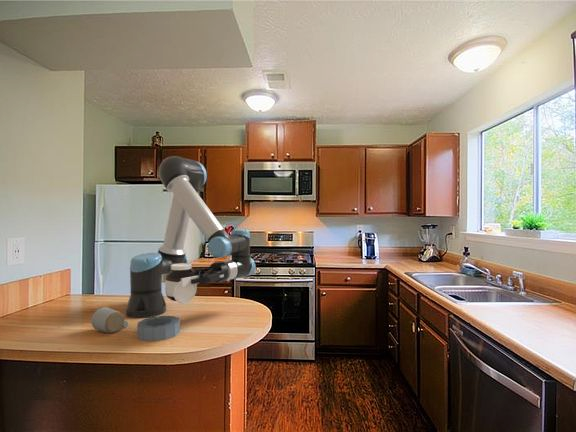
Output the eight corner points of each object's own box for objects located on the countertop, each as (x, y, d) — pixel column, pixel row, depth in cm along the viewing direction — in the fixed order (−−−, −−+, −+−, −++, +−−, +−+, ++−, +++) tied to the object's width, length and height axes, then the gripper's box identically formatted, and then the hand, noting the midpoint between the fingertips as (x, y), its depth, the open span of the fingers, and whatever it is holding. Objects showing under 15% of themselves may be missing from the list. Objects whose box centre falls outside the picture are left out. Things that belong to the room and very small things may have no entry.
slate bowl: (130, 334, 110) (130, 322, 110) (165, 324, 120) (165, 313, 120) (151, 344, 102) (151, 331, 102) (187, 332, 112) (187, 320, 112)
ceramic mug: (105, 336, 109) (106, 313, 109) (90, 332, 112) (90, 309, 112) (134, 327, 118) (134, 305, 118) (119, 324, 122) (119, 302, 122)
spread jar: (184, 294, 120) (184, 261, 120) (208, 298, 115) (208, 264, 115) (156, 301, 110) (156, 266, 109) (181, 306, 104) (181, 269, 104)
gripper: (243, 285, 121) (193, 297, 103) (203, 277, 134) (152, 287, 116) (244, 264, 121) (193, 273, 103) (203, 258, 134) (152, 265, 116)
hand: (171, 280), depth 110 cm, fingers closed on spread jar, 10 cm apart
